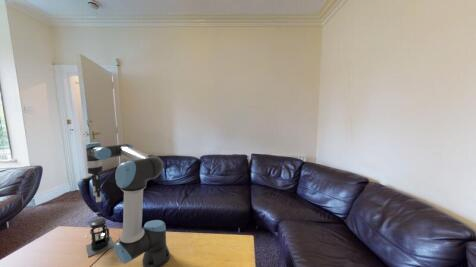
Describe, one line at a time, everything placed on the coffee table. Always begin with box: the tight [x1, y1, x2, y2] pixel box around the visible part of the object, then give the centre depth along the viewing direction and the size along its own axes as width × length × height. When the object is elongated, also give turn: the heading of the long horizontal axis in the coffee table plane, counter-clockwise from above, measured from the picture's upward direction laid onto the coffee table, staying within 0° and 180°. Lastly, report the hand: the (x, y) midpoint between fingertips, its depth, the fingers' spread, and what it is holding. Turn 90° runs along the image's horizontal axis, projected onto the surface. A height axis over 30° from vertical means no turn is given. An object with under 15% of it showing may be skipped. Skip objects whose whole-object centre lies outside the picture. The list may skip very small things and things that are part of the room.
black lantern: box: [89, 211, 111, 251], centre depth 125 cm, size 12×9×23 cm
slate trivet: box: [85, 236, 115, 258], centre depth 126 cm, size 14×14×1 cm
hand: (97, 198), depth 123 cm, fingers open, 13 cm apart
